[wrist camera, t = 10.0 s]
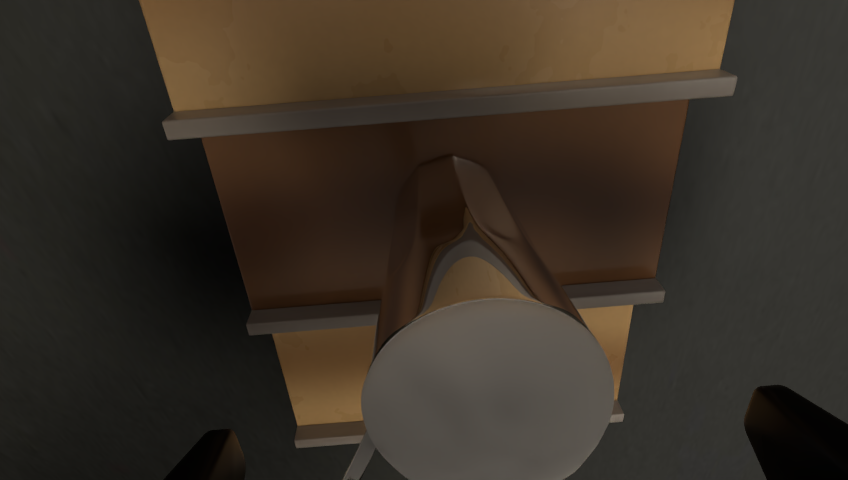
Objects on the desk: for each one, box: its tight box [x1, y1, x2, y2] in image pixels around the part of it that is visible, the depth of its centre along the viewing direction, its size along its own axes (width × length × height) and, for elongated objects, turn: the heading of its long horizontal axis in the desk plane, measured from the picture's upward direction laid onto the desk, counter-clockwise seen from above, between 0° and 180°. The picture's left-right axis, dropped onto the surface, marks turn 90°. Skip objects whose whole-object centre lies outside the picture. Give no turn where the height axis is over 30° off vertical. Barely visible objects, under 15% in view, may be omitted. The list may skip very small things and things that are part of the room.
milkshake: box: [342, 156, 614, 480], centre depth 12 cm, size 4×5×10 cm
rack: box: [139, 0, 737, 448], centre depth 17 cm, size 22×14×4 cm, turn 4°
